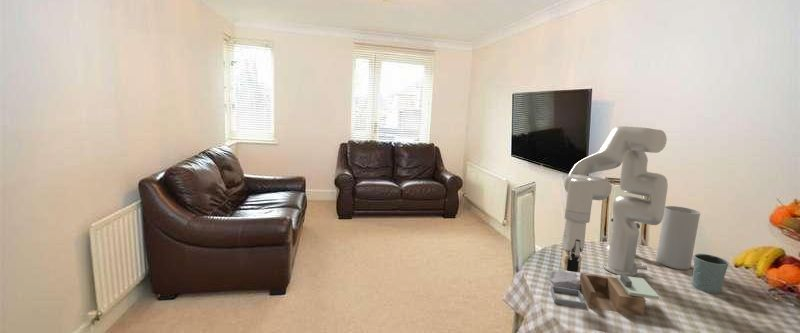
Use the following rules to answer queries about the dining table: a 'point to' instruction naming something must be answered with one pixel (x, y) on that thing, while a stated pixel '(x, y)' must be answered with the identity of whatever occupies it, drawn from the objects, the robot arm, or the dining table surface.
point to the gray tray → (567, 302)
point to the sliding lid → (637, 286)
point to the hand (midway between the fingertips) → (570, 267)
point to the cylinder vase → (677, 237)
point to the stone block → (565, 280)
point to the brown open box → (609, 295)
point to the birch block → (565, 260)
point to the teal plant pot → (709, 272)
